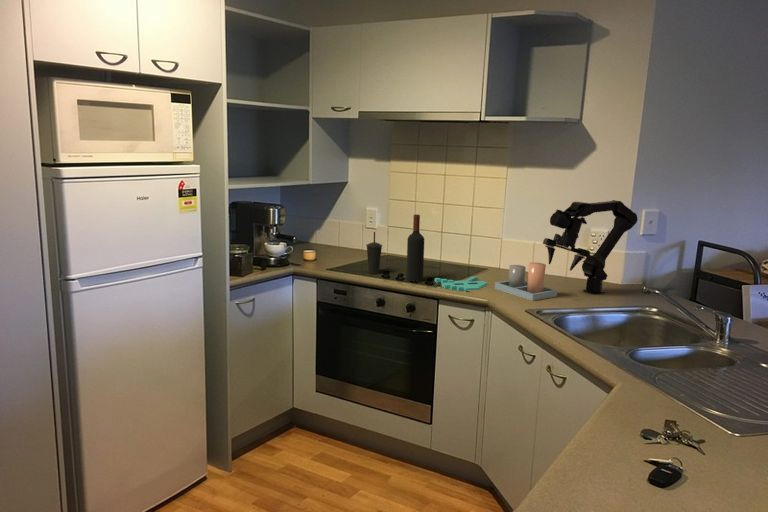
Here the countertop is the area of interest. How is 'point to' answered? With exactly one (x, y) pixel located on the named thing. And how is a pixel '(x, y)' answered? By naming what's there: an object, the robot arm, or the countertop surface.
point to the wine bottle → (415, 253)
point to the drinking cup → (374, 256)
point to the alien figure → (462, 284)
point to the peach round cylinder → (536, 277)
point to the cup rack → (525, 291)
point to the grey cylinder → (516, 276)
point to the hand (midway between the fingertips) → (559, 267)
